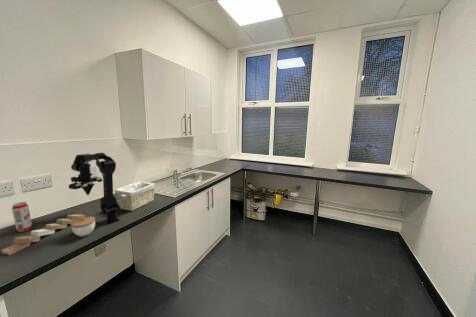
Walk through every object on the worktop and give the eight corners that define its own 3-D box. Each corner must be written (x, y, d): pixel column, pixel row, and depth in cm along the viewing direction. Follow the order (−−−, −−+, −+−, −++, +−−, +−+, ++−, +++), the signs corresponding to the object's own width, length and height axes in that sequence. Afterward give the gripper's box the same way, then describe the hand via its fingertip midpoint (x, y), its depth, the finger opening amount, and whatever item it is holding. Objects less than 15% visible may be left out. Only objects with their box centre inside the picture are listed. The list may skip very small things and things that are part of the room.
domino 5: (80, 214, 128) (67, 214, 121) (86, 215, 127) (73, 216, 120) (79, 217, 128) (66, 218, 120) (85, 218, 127) (72, 219, 119)
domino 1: (32, 235, 104) (14, 237, 96) (40, 236, 104) (23, 238, 96) (30, 239, 104) (13, 242, 96) (39, 241, 103) (21, 243, 95)
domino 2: (48, 227, 112) (31, 230, 104) (55, 229, 110) (37, 232, 103) (47, 231, 111) (30, 235, 104) (54, 233, 110) (37, 236, 103)
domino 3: (61, 222, 118) (45, 224, 110) (67, 223, 117) (52, 225, 109) (60, 226, 117) (44, 228, 110) (66, 227, 116) (51, 229, 109)
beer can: (14, 233, 109) (8, 207, 106) (20, 228, 115) (15, 202, 112) (29, 231, 111) (23, 205, 108) (34, 225, 117) (30, 201, 114)
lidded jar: (81, 228, 116) (79, 213, 114) (100, 228, 116) (98, 213, 115) (67, 239, 105) (65, 223, 103) (88, 238, 106) (86, 222, 104)
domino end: (23, 240, 101) (1, 250, 93) (30, 241, 99) (9, 251, 92) (23, 244, 101) (2, 254, 93) (30, 245, 100) (9, 256, 92)
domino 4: (70, 218, 123) (57, 219, 115) (77, 219, 122) (63, 220, 114) (69, 221, 123) (55, 223, 115) (76, 223, 121) (62, 224, 114)
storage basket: (141, 197, 164) (140, 180, 161) (156, 200, 159) (155, 182, 156) (115, 208, 142) (113, 189, 139) (132, 212, 137) (130, 192, 134)
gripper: (89, 168, 141) (91, 189, 144) (60, 175, 123) (64, 198, 126) (101, 169, 138) (103, 190, 141) (74, 176, 121) (77, 200, 123)
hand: (88, 194), depth 133 cm, fingers closed
